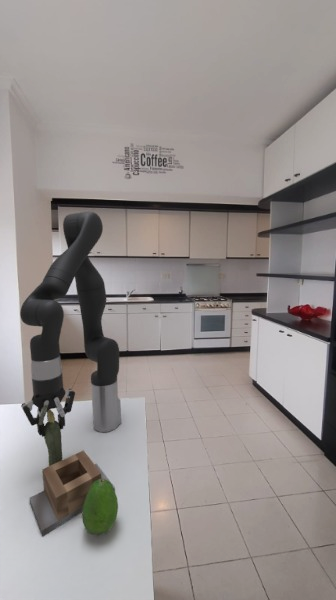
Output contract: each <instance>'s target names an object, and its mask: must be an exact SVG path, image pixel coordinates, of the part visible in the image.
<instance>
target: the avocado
mask: <svg viewBox="0 0 336 600" xmlns="http://www.w3.org/2000/svg"><path fill="white" fill-rule="evenodd" d="M110 482H111V481H110ZM110 482H109V481H107V480H106V479H98V480H96V481H94V483H93V484H92V485H91V487H90V489H89V491H88V494H87V496H86V499H85V502H84V505H83V509H82V513H81V514H82V516H81V517H82V524H83V526H84V528H85V530H86V531H87V532H88V533H89V534H90V535H95V536H103V535H105V534H106V533H108V532H110V530H111V529H112V528H113V526H114V524H115V523H116V519H117V517H118V511H119V502H118V496H117V494H116V490H115V491H114V488H113V486H114V485H113V486H112V484H113V483H112V482H111V483H112V484H111V483H110Z"/></svg>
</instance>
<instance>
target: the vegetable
mask: <svg viewBox="0 0 336 600" xmlns="http://www.w3.org/2000/svg"><path fill="white" fill-rule="evenodd" d="M46 419H47V422H46V423H44V427H45V436H44V437H43V438H44V442H45V446H46V447H47V452H48V467H49V466H51V465H53V464H55V463H57V462H59V461H62V460H63V447H62V446H63V444H62V431H61V430H62V429H60V425H59V423H58V420H56V418H55V413H54V411H53V410H52V409H50V410H48V411H46Z"/></svg>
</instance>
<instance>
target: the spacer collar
mask: <svg viewBox="0 0 336 600" xmlns="http://www.w3.org/2000/svg"><path fill="white" fill-rule="evenodd" d="M41 472H42V481H43V484H42V485H43V490H42V491H40V492H37V493H36V494H34V495H33V496H30V497H29V499H28V501H29V506H30V508H31V510H32V512H33V515H34V518H35V520H36V524H37V526H38V530H39V532H40V535H41V537H44V536H45V535H47V534H49V533H51V532H53V531H54V530H56V529H57V528H59V527H60V526H62V525H64V524H66V523H68V522H69V521H70V520H72V519H74V518H75V517H78V516H79V515H80V514H82V509H83V505H84V502H85V499H86V496H87V494H88V491H89V489H90V487H91V485H92V484H93V483H94V481H96V480H98V479H106V480H107V481H109V482H110V483H111V484H112V486H113V488H114V491H115V492H116V487H115V486H114V484H113V483H112V481H111V480H110V479H109V478H108V477H107V475H106V474H105V472H104V471H103V470H102V469H101V467H100V466H99V465H98V463H94V462H93V460H92V459H91V458H90V457H89V456H88V454H87V453H86V451H85V450H81V451H79V452H77V453H75V454H72V455H70V456H68V457H66V458H64V459H62V461H59V462H57V463H55V464H53V465H51V466H49V465H48V466H47V467H45V468H42V471H41Z"/></svg>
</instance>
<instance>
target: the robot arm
mask: <svg viewBox="0 0 336 600" xmlns="http://www.w3.org/2000/svg"><path fill="white" fill-rule="evenodd" d="M103 225H104V224H103V222H102V219H101V217H100V215H98V213H97V212H95V211H83V212H77V213H76V212H75V213H69V214H67V215H65V216H64V218H63V223H62V229H63V235H64V239H65V242H66V246H67V249H65V250H64V251H63V252H62V253H61V254H60V255H59V256H57V257H56V259H55V260H54V261H53V262H52V263H51V265H50V267H49V268H48V269H47V272H46V273H45V276H44V278H43V279H42V281H41V283H39V285H38V286H36V288H35V289H34V290H33V291H32V292H31V293H30V294H29V295H28V296H27V297H26V299H25V300H24V301H23V303H22V305H21V308H20V313H19V316H20V319H21V321H22V322H23V324H24V325H27V326H31V327H42V330H41V333H39V334H37V335H34V336H33V337H31V339H30V341H29V349H30V350H29V351H30V360H31V362H30V373H31V385H32V395H33V396H32V398H31V400H30V401H28V402H23V403H21V409H22V410H23V412H24V415H25V416H26V418H27V420H28V422H29V424H30V425H31V426H33V427H34V426H35V425H36V426H37V428H36V429H37V433H38V434H39V436H41V437H42V438H44V436H45V427H44V426H45V422H44V420H45V417H46V416H47V412H46V411H48V410H52V409H54V410H55V409H56V411H57V413H58V414H57V422H58V423H59V425H60V430H63V429H64V427H66V418H65V417H66V414H68V413H71V412H72V410H73V409H72V408H73V406H74V405H73V404H74V399H75V396H76V392H75V391H74V390H73V388H69V389H65V388H64V377H63V364H62V359H61V352H60V350H61V349H60V336H61V334H62V333H61V332H62V328H63V323H64V317H65V316H64V315H65V313H64V309H63V306H62V305H61V303H60V302H58V301H57V300H58V299H59V300H60V299H63V298H64V297H65V296H66V295H67V294H68V292H69V289H70V287H71V285H72V284H73V281H74V280H75V288H76V296H77V300H78V304H79V310H80V316H81V321H82V330H83V332H82V333H83V347H84V353H85V356H86V357H87V358H88V359H89V360H90V361H92V362H95V363H96V364H97V365H96V370H95V371H93V372H92V373H91V374H90V387H91V404H92V405H91V406H92V423H93V429H94V430H95V431H96V432H100V433H106V432H107V433H108V432H111V431H113V430H115V429H117V428H118V426H119V425H121V424H122V407H121V406H122V405H121V404H122V403H121V399H120V397H119V391H118V390H119V389H118V388H119V387H118V376H119V375H118V374H119V372H120V346H119V344H118V342H117V341H116V340H115V339H114V338H113V339H112V338H110V337H107V336H104V331H103V325H102V317H103V314H104V311H105V309H106V305H107V292H106V287H105V281H104V279H103V277H102V275H101V273H100V272H99V271H98V269H97V268H96V267H95V266H94V264H93V263H92V261H91V260H90V257H89V254H90V253H91V251H92V250H93V249H94V248H95V246H96V244H97V243H98V242H99V240H100V238H101V237H102V234H103V230H104V226H103ZM64 397H65V402H64V407H63V406H62V401H63V399H64ZM33 406H35V407H37V411H36V412H37V413H36V417H34V416H33V414H32V412H31V411H32V410H33Z"/></svg>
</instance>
